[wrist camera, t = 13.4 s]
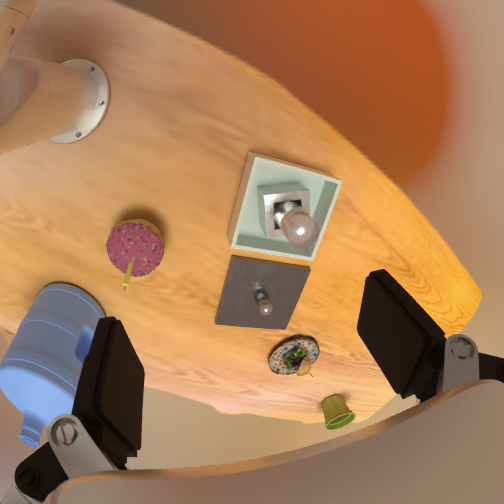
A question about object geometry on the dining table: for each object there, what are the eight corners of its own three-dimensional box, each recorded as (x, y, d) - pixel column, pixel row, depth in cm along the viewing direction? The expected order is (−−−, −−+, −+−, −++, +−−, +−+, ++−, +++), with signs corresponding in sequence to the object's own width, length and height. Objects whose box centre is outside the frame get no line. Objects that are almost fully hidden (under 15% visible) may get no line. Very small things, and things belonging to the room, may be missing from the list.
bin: (227, 234, 45) (230, 247, 41) (249, 151, 40) (255, 156, 36) (303, 247, 49) (313, 261, 45) (329, 173, 43) (342, 181, 39)
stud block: (214, 320, 53) (217, 339, 48) (231, 255, 47) (236, 271, 43) (284, 326, 57) (291, 343, 52) (308, 266, 51) (319, 282, 46)
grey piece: (257, 186, 42) (276, 212, 32) (298, 181, 42) (329, 205, 33) (260, 226, 45) (279, 261, 35) (299, 220, 46) (327, 253, 36)
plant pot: (309, 406, 75) (318, 429, 68) (333, 388, 73) (344, 412, 65) (328, 410, 79) (337, 431, 72) (350, 393, 77) (361, 414, 69)
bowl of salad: (290, 326, 57) (301, 352, 51) (327, 342, 62) (339, 366, 56) (255, 362, 61) (262, 388, 54) (293, 374, 66) (302, 397, 59)
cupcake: (162, 262, 45) (156, 310, 35) (112, 254, 43) (93, 299, 32) (170, 213, 42) (163, 250, 31) (116, 204, 39) (92, 238, 29)
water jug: (31, 318, 45) (-17, 429, 21) (49, 265, 41) (-23, 391, 17) (92, 354, 52) (69, 472, 28) (120, 309, 48) (93, 451, 24)
